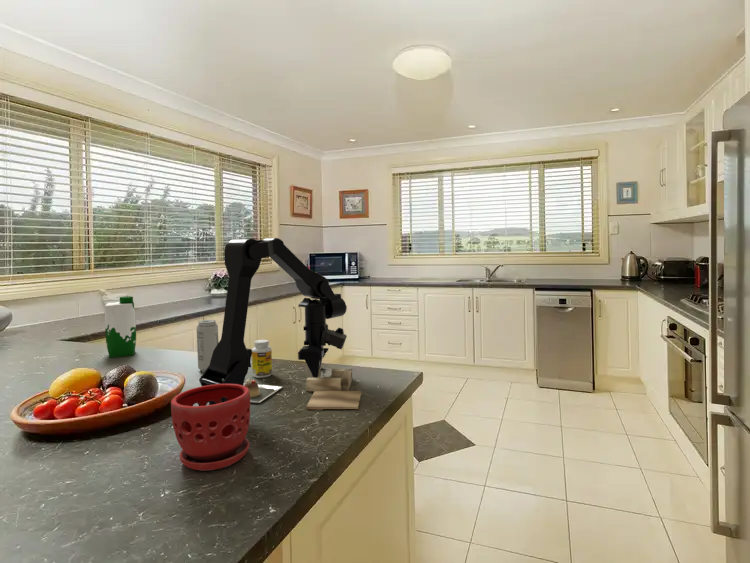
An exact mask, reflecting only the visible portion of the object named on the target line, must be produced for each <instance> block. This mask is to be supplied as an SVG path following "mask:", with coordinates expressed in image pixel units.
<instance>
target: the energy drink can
mask: <svg viewBox="0 0 750 563" xmlns="http://www.w3.org/2000/svg"><path fill="white" fill-rule="evenodd" d="M219 342H220V341H219V326H218V324H217V322H216V320H215V319H204V320H199V321H198V324H197V326H196V344H197V345H196V348H197V367H198V370H200V371H199V372H201V371H202V372H201V373H204V372H205V371H206V369H207V368H208V366H209V365H210V361H211V357H212V354H213V351H214V349H215V347H216V346H217V345H218V343H219Z"/></svg>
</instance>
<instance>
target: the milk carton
mask: <svg viewBox="0 0 750 563" xmlns="http://www.w3.org/2000/svg"><path fill="white" fill-rule="evenodd" d="M136 323H137V322H136V312H135V303H134V296H131V295H129V296H127V295H126V296H120V297H119V301H116V302H107V303H106V304H105V305H104V329H105V344H106V348H107V353H108V357H109V359H110V358H120V357H131V355H132V356H134V355H135V351H136V344H137V326H136V325H137V324H136Z"/></svg>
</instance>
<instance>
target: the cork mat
mask: <svg viewBox="0 0 750 563" xmlns="http://www.w3.org/2000/svg"><path fill="white" fill-rule="evenodd" d="M360 397H361V398H362V391H361V390H349V391H313V394H312V395H311V397H310V399H309V401H308V402H307V405H306V406H305V408H306V410H323V409H358V410H359V407H358V406H360V402H361V398H360ZM359 401H360V402H359Z"/></svg>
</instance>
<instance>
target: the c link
mask: <svg viewBox="0 0 750 563" xmlns="http://www.w3.org/2000/svg"><path fill="white" fill-rule="evenodd" d="M320 369H321V368H320ZM320 369H319V373H318V377H317V378H314V377H313V375H312V374H311V377H307V378H306V379H305V384H306V385H305V386H306V387H305V388H306V389H305V391H306V392H314V391H350V388H351V384H352V380H353V369H352V368H332V378H321V372H320Z"/></svg>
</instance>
